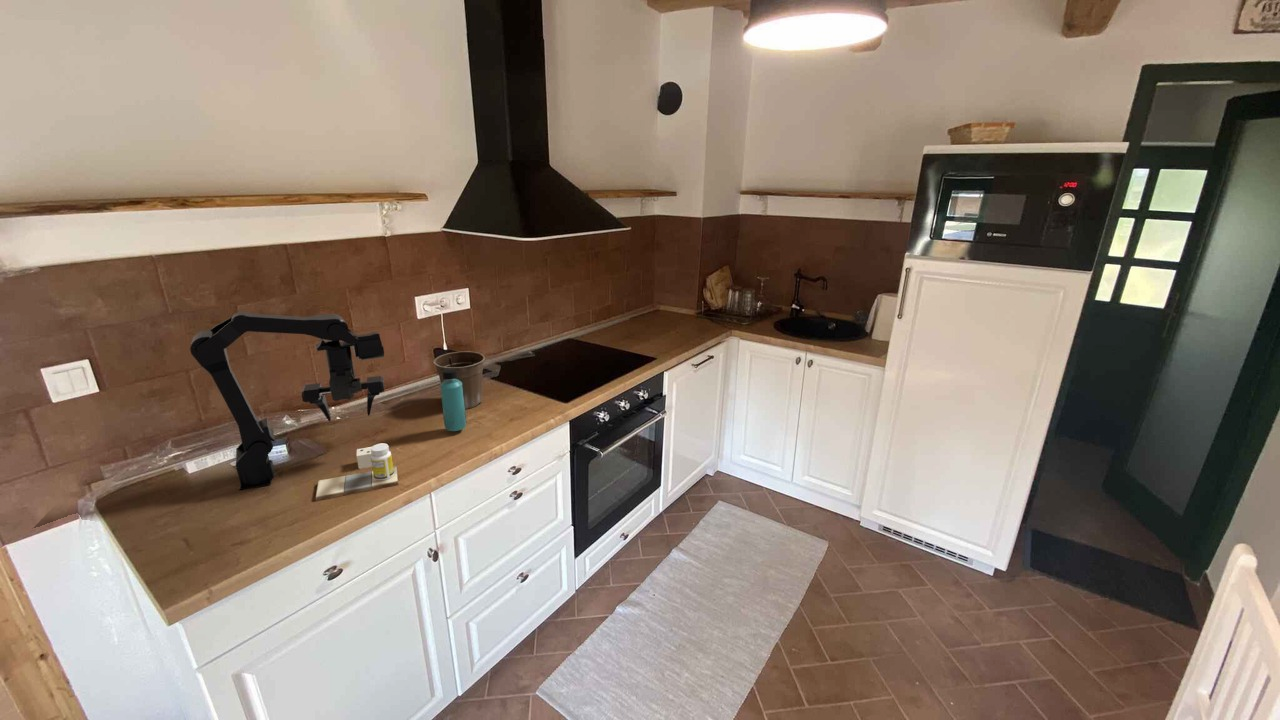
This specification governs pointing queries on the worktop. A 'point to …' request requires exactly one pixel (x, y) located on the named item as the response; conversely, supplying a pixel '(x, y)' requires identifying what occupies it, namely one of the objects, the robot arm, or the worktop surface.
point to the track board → (352, 484)
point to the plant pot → (464, 373)
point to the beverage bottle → (453, 401)
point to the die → (364, 457)
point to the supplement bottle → (381, 462)
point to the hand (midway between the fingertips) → (349, 417)
